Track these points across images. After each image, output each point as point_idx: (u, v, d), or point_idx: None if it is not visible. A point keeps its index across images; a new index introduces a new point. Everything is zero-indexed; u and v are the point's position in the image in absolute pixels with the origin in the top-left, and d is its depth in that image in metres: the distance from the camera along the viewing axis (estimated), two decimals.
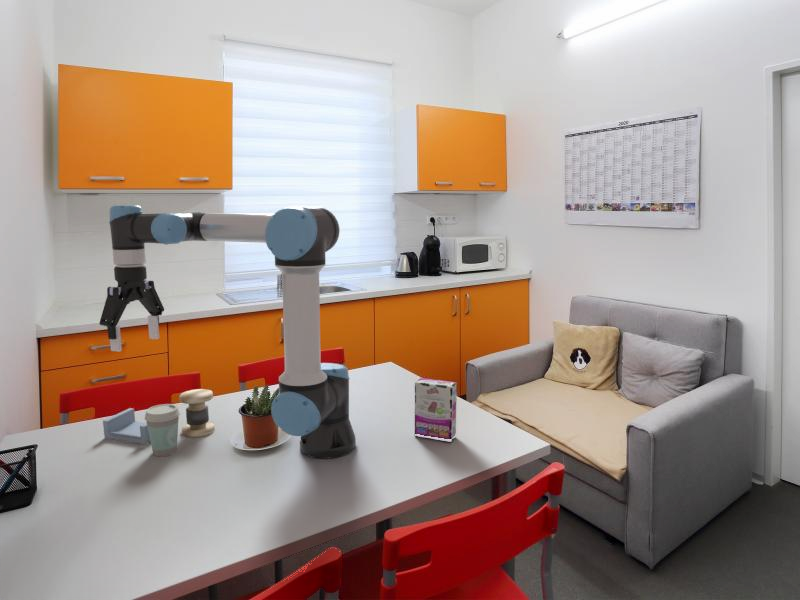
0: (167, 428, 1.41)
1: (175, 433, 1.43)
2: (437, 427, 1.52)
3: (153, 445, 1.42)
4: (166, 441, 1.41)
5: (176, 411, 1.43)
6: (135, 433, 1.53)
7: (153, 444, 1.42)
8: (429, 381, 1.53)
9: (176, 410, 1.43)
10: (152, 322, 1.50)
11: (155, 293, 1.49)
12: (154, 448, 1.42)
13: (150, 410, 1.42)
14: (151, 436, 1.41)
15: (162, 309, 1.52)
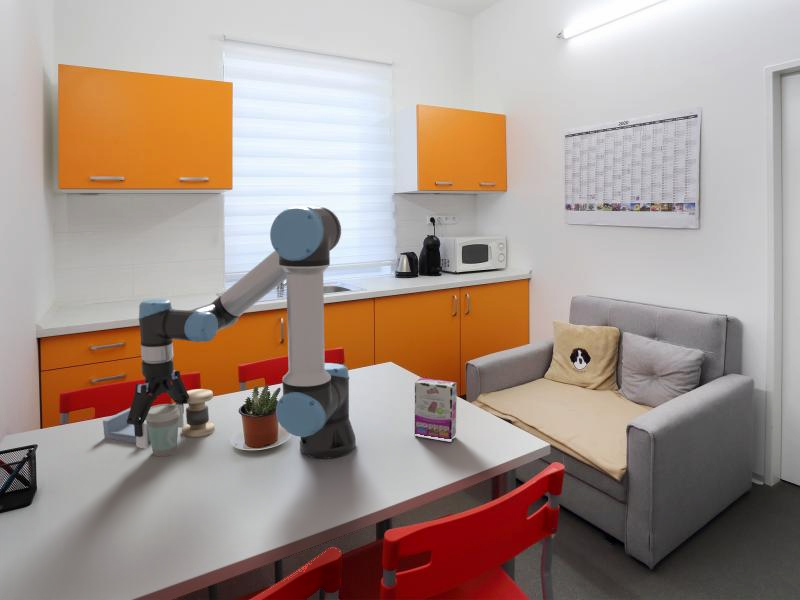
0: (167, 428, 1.41)
1: (175, 433, 1.43)
2: (437, 427, 1.52)
3: (153, 445, 1.42)
4: (166, 441, 1.41)
5: (176, 411, 1.43)
6: None
7: (153, 444, 1.42)
8: (429, 381, 1.53)
9: (176, 410, 1.43)
10: None
11: (181, 382, 1.48)
12: (154, 448, 1.42)
13: (150, 410, 1.42)
14: (151, 436, 1.41)
15: (187, 397, 1.51)
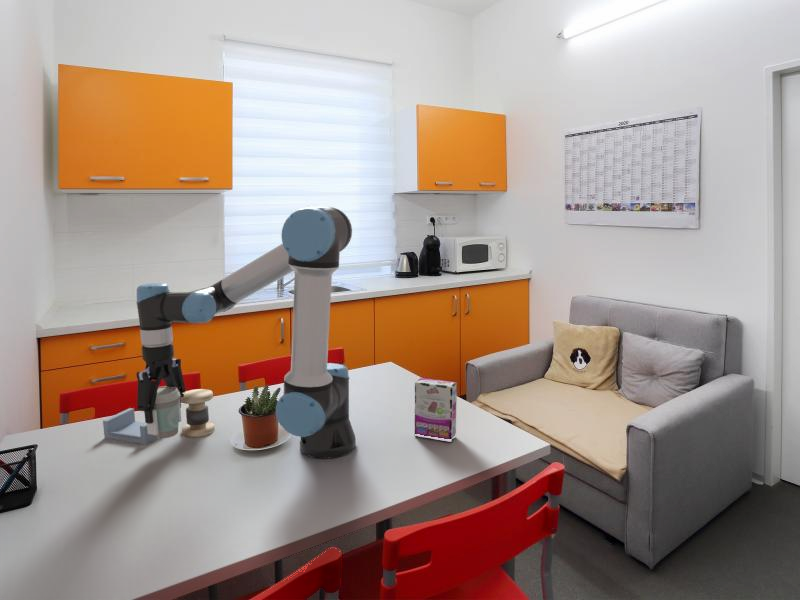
0: (168, 410, 1.40)
1: (176, 415, 1.43)
2: (437, 427, 1.52)
3: None
4: (167, 423, 1.41)
5: (176, 392, 1.42)
6: (135, 433, 1.53)
7: None
8: (429, 381, 1.53)
9: (176, 391, 1.42)
10: None
11: (180, 372, 1.47)
12: None
13: None
14: None
15: (184, 390, 1.49)
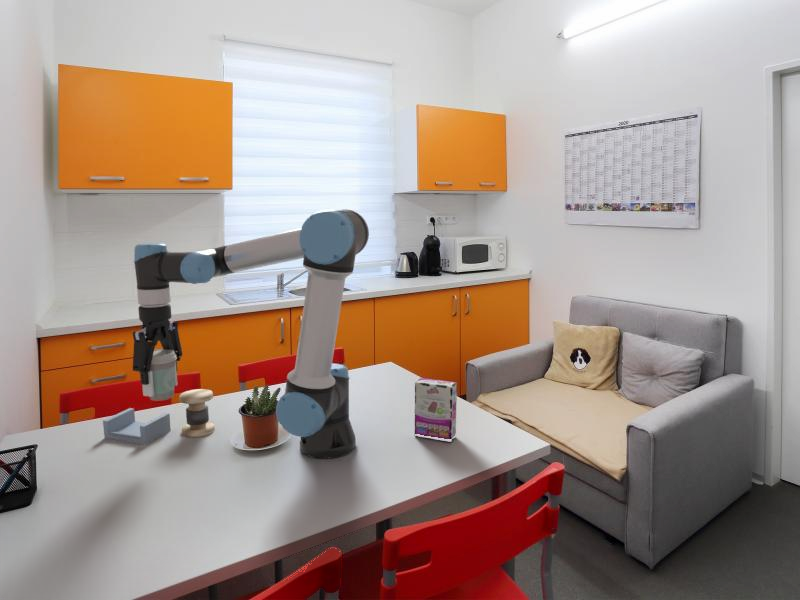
0: (164, 371, 1.38)
1: (172, 377, 1.41)
2: (437, 427, 1.52)
3: None
4: (163, 385, 1.39)
5: (173, 355, 1.40)
6: (135, 433, 1.53)
7: None
8: (429, 381, 1.53)
9: (173, 354, 1.40)
10: None
11: (177, 335, 1.45)
12: None
13: None
14: None
15: (180, 354, 1.47)
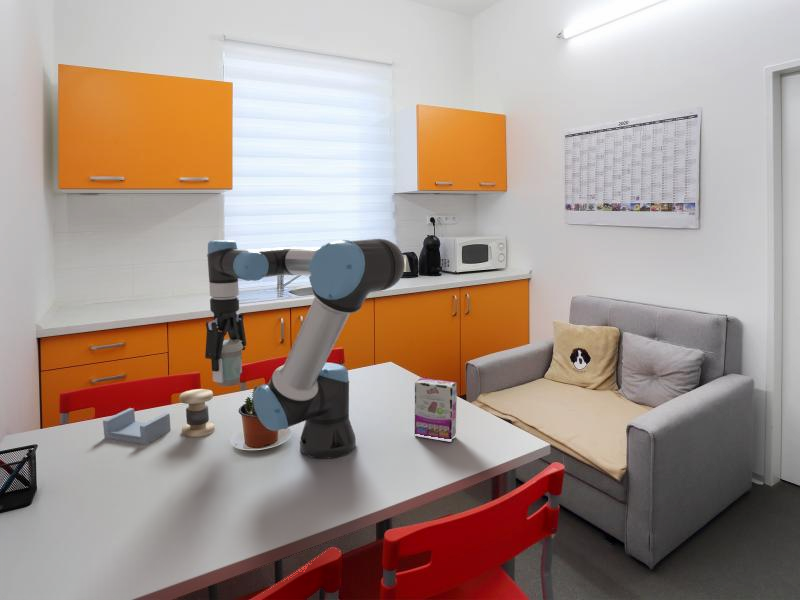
0: (232, 359, 1.49)
1: (239, 365, 1.51)
2: (437, 427, 1.52)
3: None
4: (231, 372, 1.49)
5: (240, 344, 1.51)
6: (135, 433, 1.53)
7: None
8: (429, 381, 1.53)
9: (240, 343, 1.51)
10: None
11: (242, 326, 1.55)
12: None
13: None
14: None
15: (245, 343, 1.57)
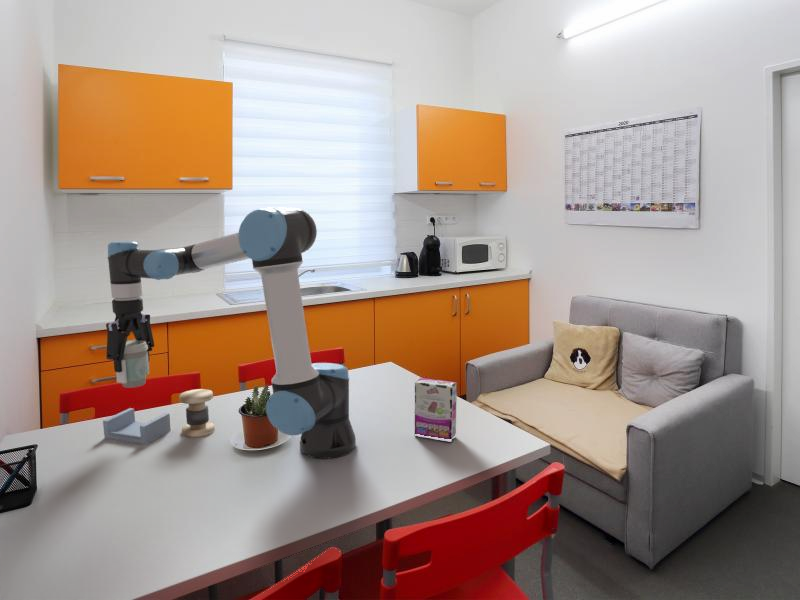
0: (135, 360, 1.49)
1: (143, 366, 1.52)
2: (437, 427, 1.52)
3: None
4: (135, 373, 1.50)
5: (144, 345, 1.51)
6: (135, 433, 1.53)
7: None
8: (429, 381, 1.53)
9: (144, 344, 1.51)
10: None
11: (149, 327, 1.56)
12: None
13: None
14: None
15: (152, 345, 1.58)
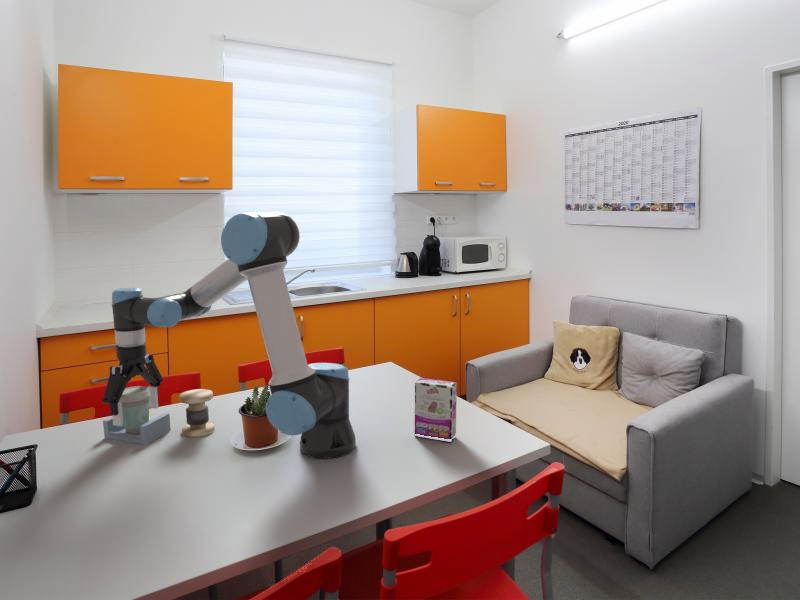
0: (138, 408, 1.51)
1: (146, 413, 1.54)
2: (437, 427, 1.52)
3: (125, 424, 1.52)
4: (138, 420, 1.52)
5: (147, 392, 1.53)
6: None
7: (125, 423, 1.52)
8: (429, 381, 1.53)
9: (147, 391, 1.53)
10: (151, 393, 1.60)
11: (154, 366, 1.59)
12: (126, 427, 1.52)
13: None
14: (123, 415, 1.51)
15: (161, 380, 1.62)
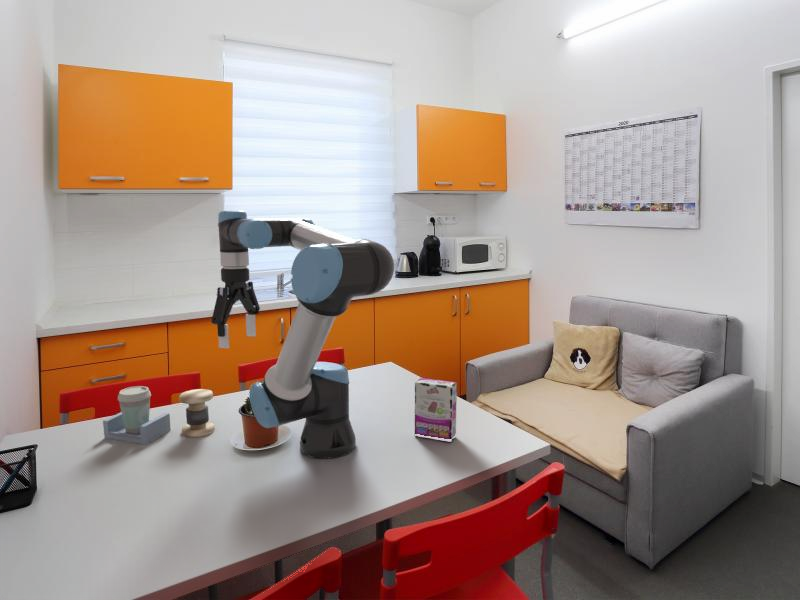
0: (138, 408, 1.51)
1: (146, 413, 1.54)
2: (437, 427, 1.52)
3: (125, 424, 1.52)
4: (138, 420, 1.52)
5: (147, 392, 1.53)
6: None
7: (125, 423, 1.52)
8: (429, 381, 1.53)
9: (147, 391, 1.53)
10: (250, 321, 1.59)
11: (253, 293, 1.58)
12: (126, 427, 1.52)
13: (123, 391, 1.53)
14: (123, 415, 1.51)
15: (258, 308, 1.61)
